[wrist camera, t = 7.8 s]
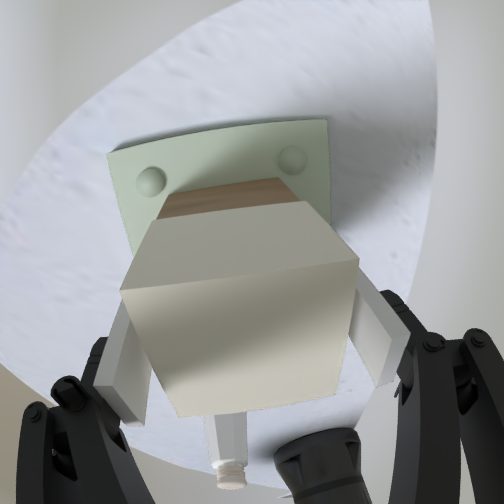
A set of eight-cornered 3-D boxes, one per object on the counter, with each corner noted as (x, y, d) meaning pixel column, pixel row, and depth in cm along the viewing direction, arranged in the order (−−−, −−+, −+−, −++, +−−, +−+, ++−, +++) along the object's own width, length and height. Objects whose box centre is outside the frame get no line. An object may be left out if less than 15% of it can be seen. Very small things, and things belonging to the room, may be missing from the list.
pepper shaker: (255, 402, 30) (270, 486, 21) (214, 415, 31) (221, 495, 21) (233, 380, 28) (245, 476, 18) (189, 394, 28) (191, 485, 19)
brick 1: (285, 271, 21) (306, 319, 16) (190, 286, 21) (186, 339, 16) (278, 177, 18) (303, 203, 13) (168, 194, 17) (151, 228, 13)
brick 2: (304, 318, 16) (335, 394, 11) (183, 335, 16) (178, 417, 11) (306, 200, 13) (359, 258, 8) (152, 220, 12) (119, 290, 8)
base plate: (324, 292, 24) (330, 302, 23) (161, 319, 23) (159, 330, 22) (321, 118, 17) (328, 119, 16) (111, 151, 16) (104, 154, 15)
